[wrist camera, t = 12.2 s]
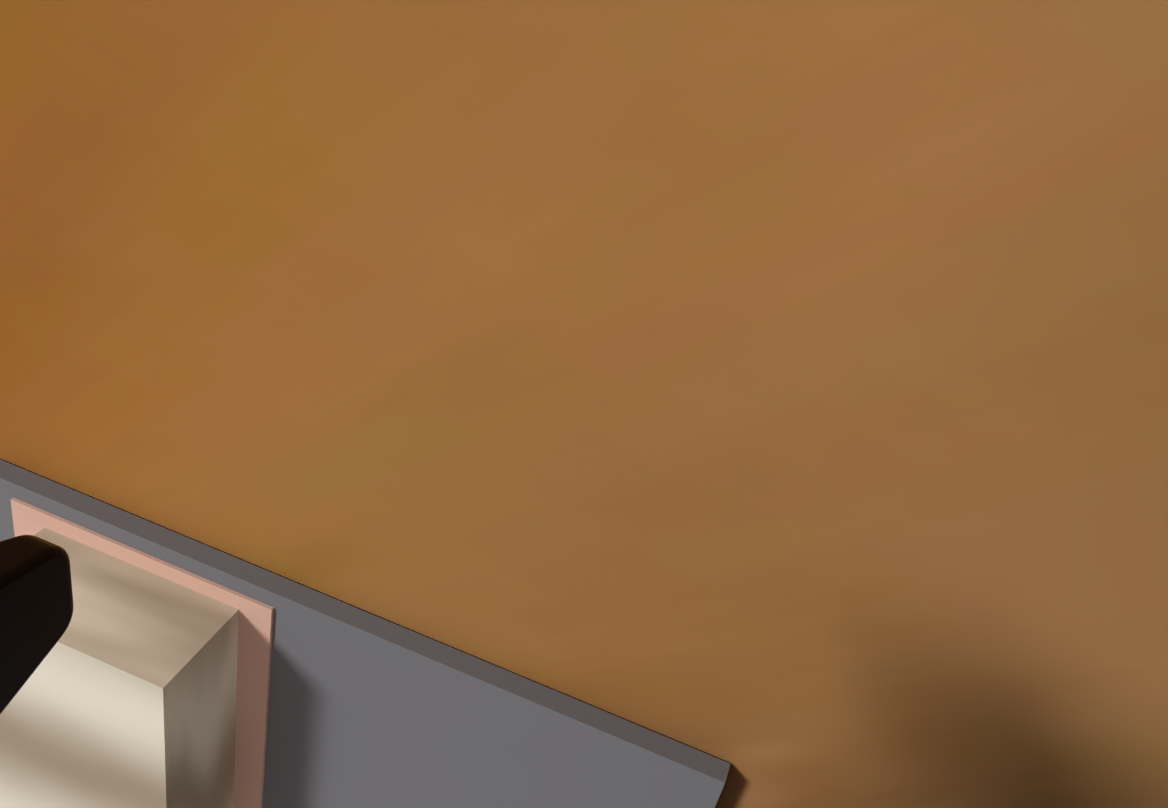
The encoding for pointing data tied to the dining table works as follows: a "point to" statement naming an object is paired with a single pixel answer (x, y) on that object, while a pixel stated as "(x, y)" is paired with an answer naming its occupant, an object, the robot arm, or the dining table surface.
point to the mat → (378, 694)
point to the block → (126, 697)
